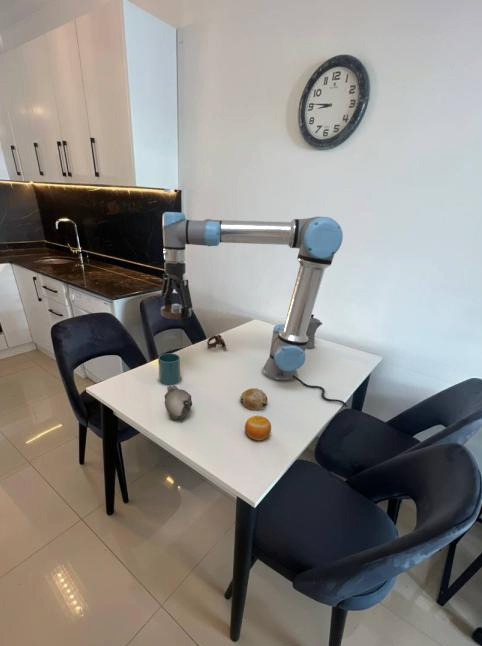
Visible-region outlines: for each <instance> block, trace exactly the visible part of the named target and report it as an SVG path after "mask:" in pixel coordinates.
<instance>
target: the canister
mask: <svg viewBox="0 0 482 646" xmlns="http://www.w3.org/2000/svg"><path fill="white" fill-rule="evenodd" d="M157 363H158V380H159V382H160V383H161V384H162V385H165V386H176V385H177V384H179V383H180V382H181V357H180V356H179V355H178V354H176V353H172V352H171V353H169V352H168V353H167V352H166V353H162V354H160V355H159V356H158V358H157Z"/></svg>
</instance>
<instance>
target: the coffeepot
mask: <svg viewBox="0 0 482 646" xmlns="http://www.w3.org/2000/svg"><path fill="white" fill-rule="evenodd" d="M314 316H315V314H313V313H312V315H311V318H310V321H309V325H308V328H307V331H306V336H307V337H308V342H307V345H306V349H313V348H314V347H315V340H316V339H315V338H316V336H315V334H316V332H317V330H318V329H319V327H320V326H322V325H323V322H321V320H320V319H318V318H316V317H314Z"/></svg>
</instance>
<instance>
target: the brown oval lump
mask: <svg viewBox="0 0 482 646" xmlns="http://www.w3.org/2000/svg"><path fill="white" fill-rule="evenodd" d="M239 400H240V401H241V402H240V403H241V404H242V406H243V407H245V408H246V410H247V409H248V410H252V411H260V410H261V411H262V410H264V409H265V407H266V406H267V404H268V396H267V394H266V392H264V391H263V390H262V389H259V388H248V389H246V390H244V391H243V392H242V393H241V395H240V396H239Z"/></svg>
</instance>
